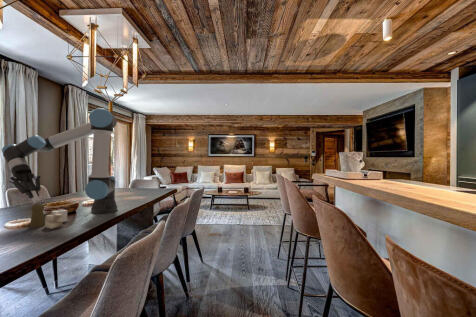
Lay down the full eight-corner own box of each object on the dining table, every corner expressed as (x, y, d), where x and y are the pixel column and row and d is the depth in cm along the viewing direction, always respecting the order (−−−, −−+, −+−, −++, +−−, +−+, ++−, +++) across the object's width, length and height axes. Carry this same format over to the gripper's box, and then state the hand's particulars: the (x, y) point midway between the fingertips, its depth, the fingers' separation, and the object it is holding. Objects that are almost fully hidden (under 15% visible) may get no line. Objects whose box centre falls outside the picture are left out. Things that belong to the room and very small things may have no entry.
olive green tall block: (45, 226, 117) (46, 204, 117) (29, 228, 112) (30, 206, 112) (44, 223, 121) (44, 202, 121) (29, 225, 117) (29, 204, 117)
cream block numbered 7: (61, 220, 128) (61, 209, 128) (67, 221, 126) (67, 210, 126) (51, 222, 123) (51, 210, 123) (57, 223, 121) (57, 211, 121)
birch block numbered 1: (56, 224, 119) (56, 212, 119) (62, 226, 117) (62, 214, 117) (45, 227, 115) (45, 215, 115) (51, 228, 113) (51, 216, 113)
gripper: (32, 172, 130) (48, 204, 124) (1, 173, 118) (17, 209, 112) (37, 163, 128) (54, 195, 122) (6, 163, 116) (24, 199, 110)
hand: (37, 202), depth 117 cm, fingers closed
